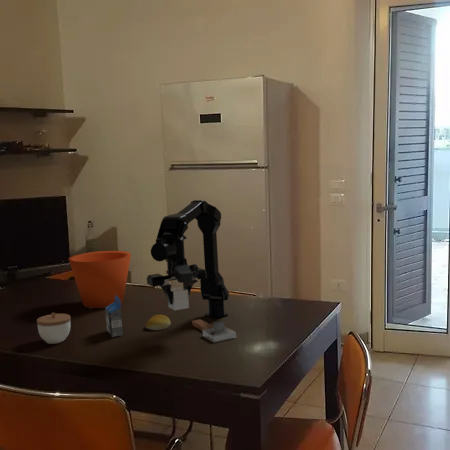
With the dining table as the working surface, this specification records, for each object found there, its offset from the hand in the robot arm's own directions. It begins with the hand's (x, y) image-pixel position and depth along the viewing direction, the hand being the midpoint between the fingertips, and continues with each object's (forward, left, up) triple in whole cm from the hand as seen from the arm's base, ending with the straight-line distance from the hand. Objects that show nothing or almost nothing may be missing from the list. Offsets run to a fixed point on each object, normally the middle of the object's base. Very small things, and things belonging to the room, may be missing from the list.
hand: (178, 302), depth 189 cm
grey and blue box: (-19, -16, -12) cm, 27 cm away
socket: (0, 0, -2) cm, 2 cm away
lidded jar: (-23, -35, -12) cm, 43 cm away
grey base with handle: (0, +11, -12) cm, 16 cm away
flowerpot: (-62, -7, -12) cm, 63 cm away
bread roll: (-17, -1, -12) cm, 21 cm away
